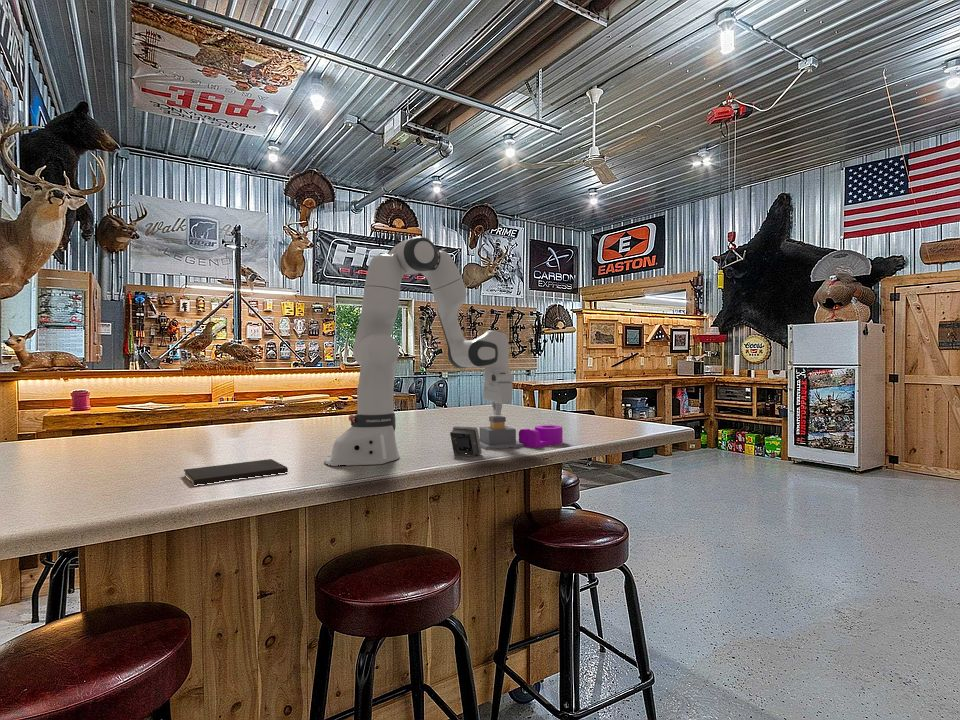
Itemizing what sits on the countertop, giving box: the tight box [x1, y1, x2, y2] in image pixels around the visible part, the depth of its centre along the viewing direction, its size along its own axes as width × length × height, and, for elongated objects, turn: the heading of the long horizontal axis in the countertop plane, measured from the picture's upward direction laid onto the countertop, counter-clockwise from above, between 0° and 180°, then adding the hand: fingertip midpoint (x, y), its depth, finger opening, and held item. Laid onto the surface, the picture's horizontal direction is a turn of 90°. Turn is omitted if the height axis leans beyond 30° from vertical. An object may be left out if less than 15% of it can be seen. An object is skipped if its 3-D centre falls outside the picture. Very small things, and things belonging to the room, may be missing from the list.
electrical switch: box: [449, 425, 483, 457], centre depth 170 cm, size 9×5×9 cm, turn 57°
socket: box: [479, 425, 525, 450], centre depth 188 cm, size 14×14×6 cm
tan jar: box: [488, 415, 507, 429], centre depth 188 cm, size 5×5×9 cm
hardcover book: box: [183, 458, 289, 486], centre depth 145 cm, size 16×23×2 cm
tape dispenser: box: [518, 424, 564, 449], centre depth 189 cm, size 16×10×6 cm, turn 131°
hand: (497, 415), depth 188 cm, fingers closed
